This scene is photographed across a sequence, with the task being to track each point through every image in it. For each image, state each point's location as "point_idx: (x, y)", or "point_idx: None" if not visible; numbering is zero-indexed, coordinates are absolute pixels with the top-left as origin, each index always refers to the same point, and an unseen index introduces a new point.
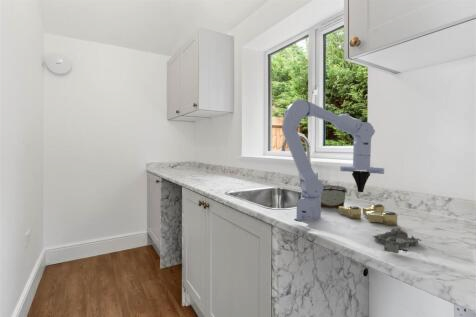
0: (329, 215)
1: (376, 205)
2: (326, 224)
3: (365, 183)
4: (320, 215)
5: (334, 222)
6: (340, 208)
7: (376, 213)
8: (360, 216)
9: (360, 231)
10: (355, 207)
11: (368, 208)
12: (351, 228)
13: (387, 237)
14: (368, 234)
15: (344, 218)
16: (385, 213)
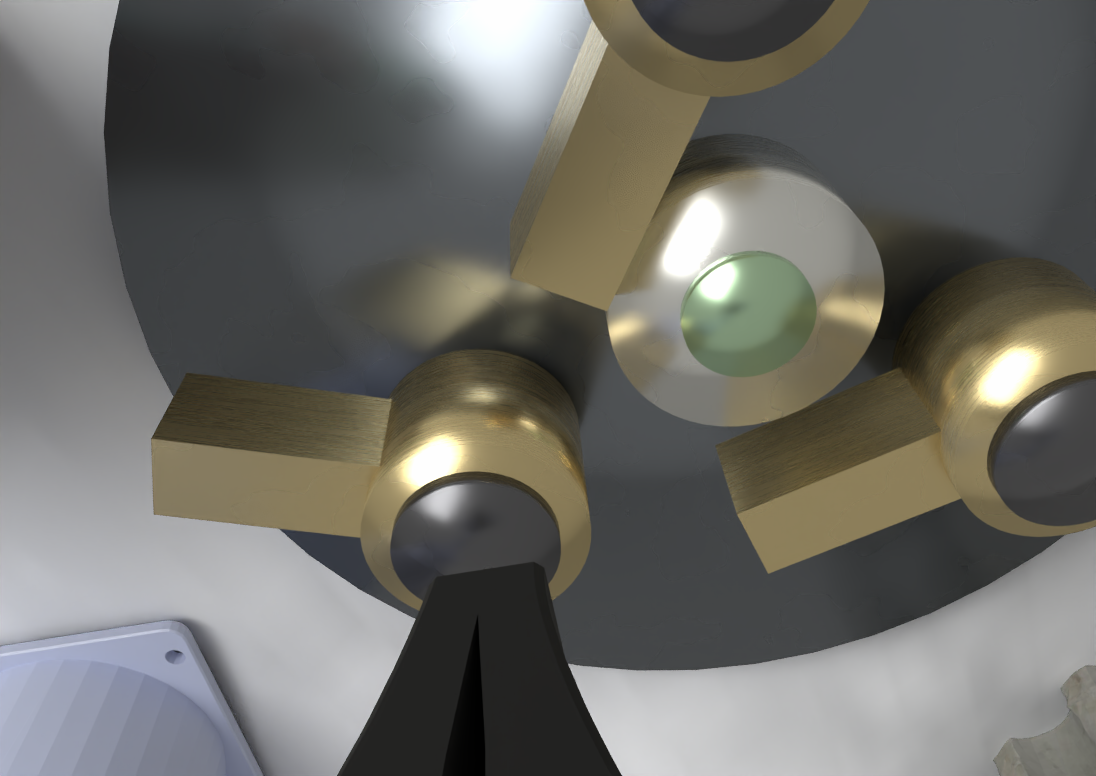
0: (68, 429)
1: (739, 64)
2: (354, 741)
3: (607, 758)
4: (195, 758)
5: (358, 635)
6: (209, 504)
7: (812, 349)
8: (581, 447)
9: (728, 682)
10: (504, 562)
11: (599, 202)
12: (616, 670)
13: (1031, 774)
14: (823, 698)
15: None
16: (1014, 509)
